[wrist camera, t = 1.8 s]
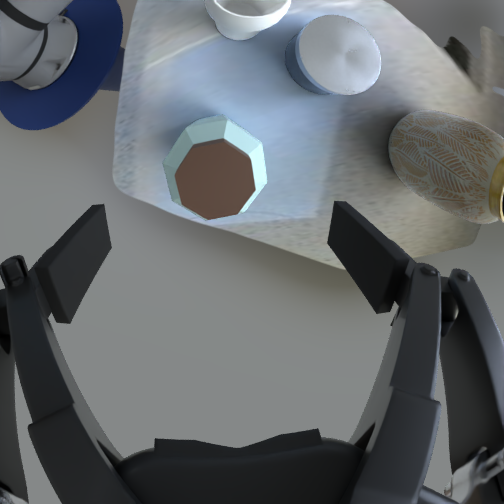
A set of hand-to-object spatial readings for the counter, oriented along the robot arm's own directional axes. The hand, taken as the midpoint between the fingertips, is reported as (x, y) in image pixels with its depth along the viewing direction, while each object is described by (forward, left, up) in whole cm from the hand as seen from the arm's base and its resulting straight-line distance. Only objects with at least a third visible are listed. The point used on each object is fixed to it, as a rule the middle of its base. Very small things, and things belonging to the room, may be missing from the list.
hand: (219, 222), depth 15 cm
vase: (-3, +39, -33) cm, 51 cm away
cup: (-22, +3, -33) cm, 40 cm away
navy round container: (-16, +17, -33) cm, 40 cm away
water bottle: (0, 0, -33) cm, 33 cm away
